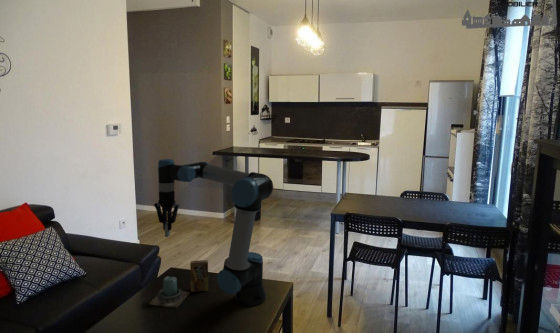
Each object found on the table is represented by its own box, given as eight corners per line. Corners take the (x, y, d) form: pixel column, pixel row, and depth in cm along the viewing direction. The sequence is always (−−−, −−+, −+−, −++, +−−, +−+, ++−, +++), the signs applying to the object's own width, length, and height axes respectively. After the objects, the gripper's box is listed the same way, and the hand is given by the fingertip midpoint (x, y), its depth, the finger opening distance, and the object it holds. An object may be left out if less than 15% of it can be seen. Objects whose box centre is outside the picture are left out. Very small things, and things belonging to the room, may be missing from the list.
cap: (179, 294, 187) (179, 276, 185) (173, 300, 180) (172, 281, 179) (167, 293, 188) (167, 274, 187) (161, 299, 182) (160, 280, 181)
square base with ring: (189, 294, 190) (189, 287, 189) (176, 308, 176) (176, 301, 176) (164, 290, 193) (163, 284, 192) (149, 304, 179) (149, 297, 178)
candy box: (208, 287, 197) (207, 259, 195) (208, 291, 193) (208, 262, 191) (190, 288, 196) (190, 260, 193) (190, 292, 191) (190, 263, 189)
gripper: (182, 189, 189) (182, 234, 193) (158, 188, 191) (159, 232, 195) (175, 192, 182) (176, 239, 185) (150, 191, 184) (151, 237, 187)
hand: (167, 236), depth 190 cm, fingers closed
